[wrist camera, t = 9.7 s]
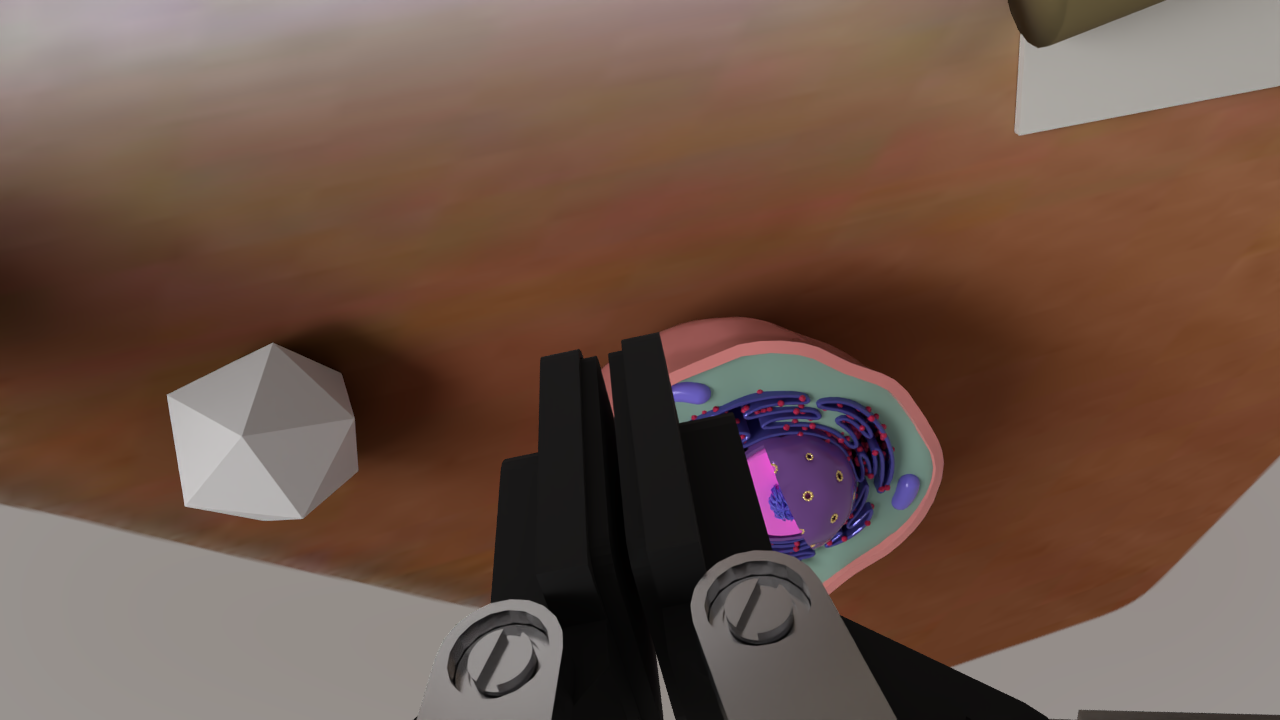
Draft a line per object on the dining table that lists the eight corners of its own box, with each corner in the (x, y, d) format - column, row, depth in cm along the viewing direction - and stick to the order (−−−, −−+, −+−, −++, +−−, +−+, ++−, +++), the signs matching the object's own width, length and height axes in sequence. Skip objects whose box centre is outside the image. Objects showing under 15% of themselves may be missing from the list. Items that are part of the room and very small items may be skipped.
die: (269, 277, 42) (91, 403, 37) (407, 373, 41) (244, 521, 35) (286, 373, 49) (136, 494, 43) (406, 459, 47) (267, 596, 42)
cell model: (464, 366, 45) (435, 518, 36) (828, 200, 42) (904, 320, 32) (612, 570, 54) (620, 735, 44) (924, 447, 50) (1006, 599, 41)
